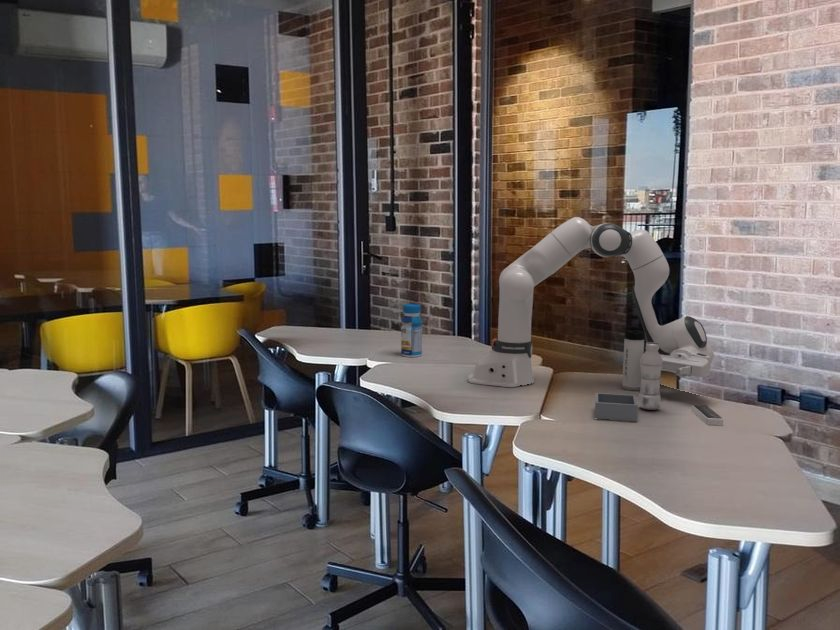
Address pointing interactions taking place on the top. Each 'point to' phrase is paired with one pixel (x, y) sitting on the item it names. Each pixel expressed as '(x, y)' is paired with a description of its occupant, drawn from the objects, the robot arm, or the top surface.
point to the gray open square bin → (616, 406)
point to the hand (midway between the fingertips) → (663, 368)
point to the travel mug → (632, 358)
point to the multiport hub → (707, 415)
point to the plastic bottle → (650, 377)
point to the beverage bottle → (411, 331)
